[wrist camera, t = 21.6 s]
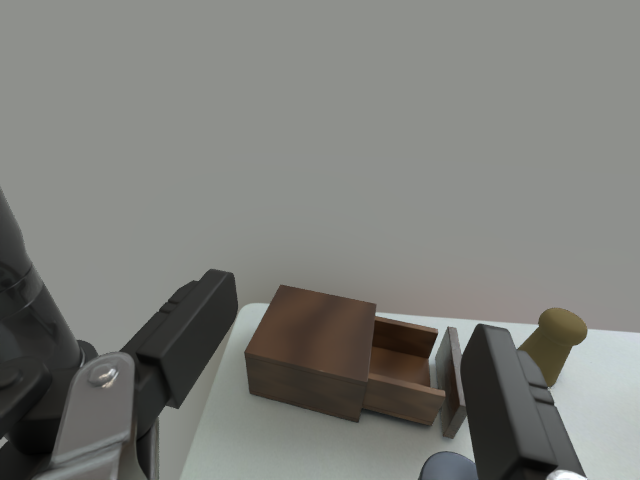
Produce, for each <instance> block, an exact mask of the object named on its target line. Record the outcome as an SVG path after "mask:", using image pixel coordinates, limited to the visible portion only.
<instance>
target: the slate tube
mask: <svg viewBox="0 0 640 480" xmlns="http://www.w3.org/2000/svg"><path fill="white" fill-rule="evenodd" d="M418 480H478V476H477V470H476V465H475V463H474V462H472V461H471V460H469V459H468V458H466V457H464V456H462V455H460V454H458V453H454V452H448V451H445V452H438V453H435V454H433V455H432V456H430V457H429V458H428V459H427V460H426V462H425V463H424V465H423V467H422V469H421V472H420V476H419V478H418Z"/></svg>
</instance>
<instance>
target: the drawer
mask: <svg viewBox="0 0 640 480" xmlns="http://www.w3.org/2000/svg"><path fill="white" fill-rule="evenodd" d="M437 335H438V329H435V328H430V327H425V326H420V325H416V324H411V323H406V322H401V321H397V320H392V319H387V318H382V317H377V316H375V321H374V330H373V339H372V348H371V357H370V365H369V374H368V383H367V387H366V391H365V396H364V400H363V404H362V408H364V409H368V410H372V411H376V412H380V413H384V414H387V415H391V416H395V417H399V418H403V419H406V420H410V421H414V422H418V423H422V424H426V425H429V426H432V424H433V422H434V420H435V418H436V416H437V414H438V412H439V410H440V411H441V421H442V431H443V436H444V437H448V438H451V439H453V438H454V436H455V435H456V433H457V431H458V430H459V428H460V426H461V425H462V423H463V421H464V419H465V418H466V416H467V411H466V406H465V400H464V394H463V388H462V382H461V376H460V363H461V358H462V355H461V350H460V345H459V339H458V334H457V329H456V328H453V327H447V330H446V332H445V334H444V337H443V339H442V342H441V344H440V347H439V349H438V352H437V354H436V357H435V360H436V370H437V380H438V389H435V388H431V386H430V373H429V359H428V358H429V356H430V353H431V351H432V348H433V346H434V343H435V340H436V338H437Z"/></svg>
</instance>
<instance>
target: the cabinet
mask: <svg viewBox="0 0 640 480" xmlns="http://www.w3.org/2000/svg"><path fill="white" fill-rule="evenodd" d="M375 313H376V304H374V303H369V302H364V301H359V300H354V299H349V298H344V297H339V296H335V295H329V294H324V293H320V292H314V291H310V290H305V289H300V288H295V287H290V286H285V285H280V286H279V288H278V290H277V292H276V294H275V296H274V298H273V299H272V301H271V303H270V305H269V307H268V309H267V311H266V313H265V314H264V316H263V318H262V320H261V322H260V324H259V326H258V328H257V329H256V331H255V333H254V335H253V337H252V339H251V341H250V342H249V344H248V346H247V348H246V350H245V352H244V353H245V360H246V368H247V376H248V384H249V392H250V394H254V395H258V396H261V397H265V398H269V399H272V400H276V401H280V402H284V403H287V404H291V405H295V406H298V407H302V408H306V409H309V410H313V411H317V412H321V413H324V414H328V415H332V416H335V417H339V418H343V419H346V420H350V421H354V422H359V417H360V413H361V409H362V404H363V400H364V396H365V391H366V387H367V383H368V374H369V365H370V357H371V348H372V339H373V330H374V321H375Z"/></svg>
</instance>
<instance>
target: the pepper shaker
mask: <svg viewBox="0 0 640 480" xmlns="http://www.w3.org/2000/svg"><path fill="white" fill-rule="evenodd" d="M538 324H539V327H538V328H537V329H536V330H535V331H534V332H533V333H532V334H531V336H530V337H529V338H528V339H527V340H526V341H525V342H524V343H523V344H522V345H521V346H520V347H519V348H518V350H522V351H526V352H527V354H528V355H529V356H530V357H531V358H532V360H533V361H534V362H535V363H536V364H537V366H538V367H539V368H540V370H541V372H542V374H543V377H544V379H545V382H546V384H547V386H548V387H550V386H553V385H554V384H555V382H556V380H557V378H558V376H559V374H560V372H561V370H562V368H563V365H564V363H565V361H566V359H567V357H568V355H569V353H570V351H571V349H572V346H574V345H578V344H580V343H581V342H582V341H583V340H584V339H585V338H586V336H587V326H586V324H585V323H584V321H583V320H582V319H581V318H579V317H578V316H577V315H575V314H574V313H572V312H570V311H567V310H565V309H561V308H551V309H547V310H546V311H544V312H543V313H542V314H541V316H540V318H539V322H538Z"/></svg>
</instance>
